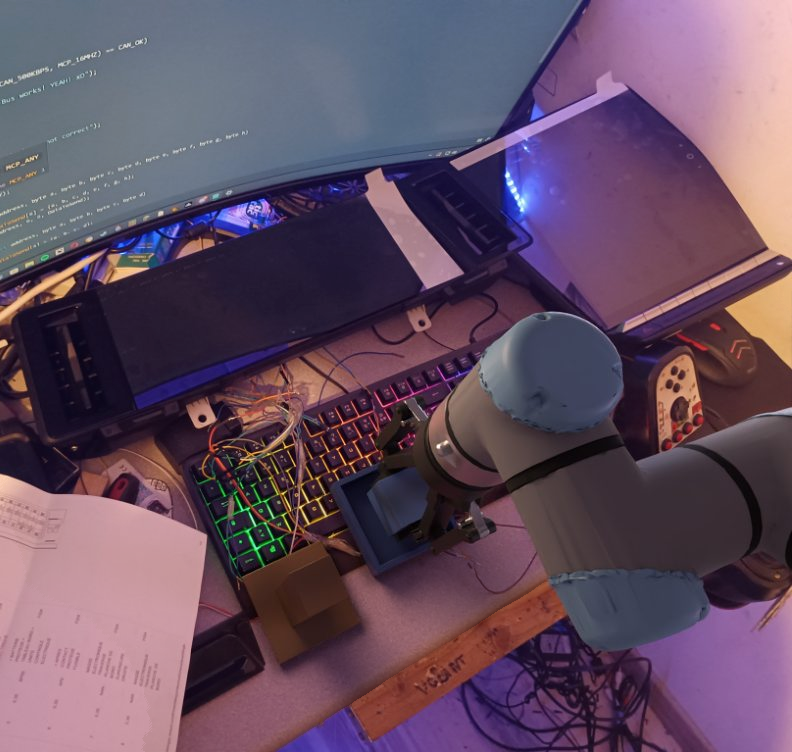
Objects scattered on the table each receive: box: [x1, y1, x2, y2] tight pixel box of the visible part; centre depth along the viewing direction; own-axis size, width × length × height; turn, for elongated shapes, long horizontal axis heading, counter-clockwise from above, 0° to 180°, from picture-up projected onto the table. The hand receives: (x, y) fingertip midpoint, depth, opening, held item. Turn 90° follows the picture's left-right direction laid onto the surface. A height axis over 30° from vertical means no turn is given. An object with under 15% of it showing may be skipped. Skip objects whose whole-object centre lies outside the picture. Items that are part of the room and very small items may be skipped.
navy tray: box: [329, 461, 458, 578], centre depth 76 cm, size 10×10×3 cm
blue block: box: [367, 467, 429, 538], centre depth 72 cm, size 5×5×5 cm
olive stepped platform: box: [241, 539, 361, 665], centre depth 67 cm, size 9×9×12 cm
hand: (393, 509), depth 76 cm, fingers closed on blue block, 5 cm apart
